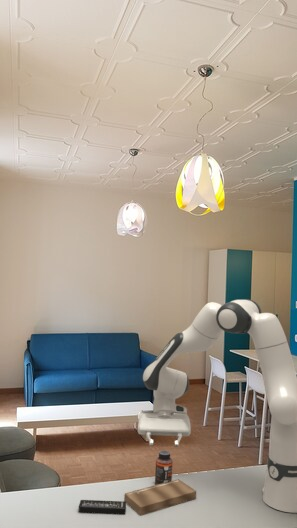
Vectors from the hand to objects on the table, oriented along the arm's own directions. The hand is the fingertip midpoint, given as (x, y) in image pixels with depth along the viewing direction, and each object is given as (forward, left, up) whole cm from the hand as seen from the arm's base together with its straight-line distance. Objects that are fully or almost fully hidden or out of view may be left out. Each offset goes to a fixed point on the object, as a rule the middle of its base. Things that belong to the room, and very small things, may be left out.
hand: (164, 445), depth 167 cm
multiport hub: (+30, +10, -12) cm, 34 cm away
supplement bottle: (+3, +5, -11) cm, 13 cm away
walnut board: (+10, +14, -11) cm, 21 cm away
